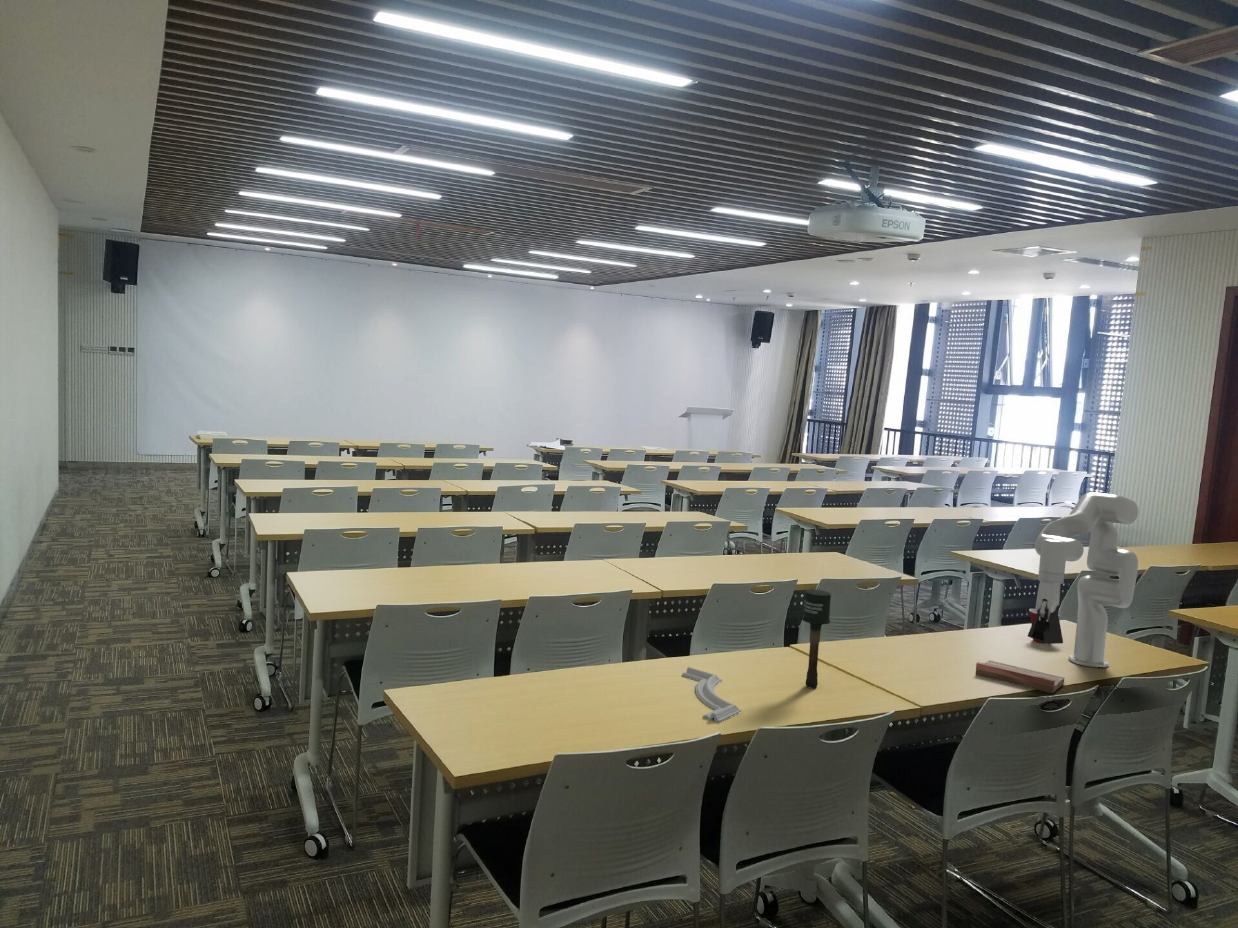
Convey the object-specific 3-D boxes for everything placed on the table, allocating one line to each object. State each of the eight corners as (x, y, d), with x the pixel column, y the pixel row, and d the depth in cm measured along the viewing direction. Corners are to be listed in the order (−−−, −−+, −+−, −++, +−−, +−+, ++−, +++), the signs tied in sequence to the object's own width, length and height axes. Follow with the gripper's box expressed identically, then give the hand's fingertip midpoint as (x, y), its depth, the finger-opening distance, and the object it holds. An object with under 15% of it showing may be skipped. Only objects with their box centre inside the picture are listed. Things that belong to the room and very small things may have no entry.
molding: (679, 674, 277) (680, 665, 277) (716, 674, 279) (717, 665, 278) (705, 725, 235) (705, 714, 235) (748, 725, 237) (749, 714, 236)
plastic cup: (1063, 645, 333) (1066, 615, 332) (1037, 645, 332) (1040, 614, 331) (1045, 637, 344) (1048, 608, 343) (1020, 637, 342) (1023, 607, 341)
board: (988, 665, 302) (989, 654, 301) (1063, 683, 286) (1065, 671, 286) (975, 674, 291) (976, 662, 291) (1052, 693, 275) (1053, 680, 275)
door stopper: (1063, 643, 280) (1066, 607, 279) (1048, 644, 278) (1051, 607, 278) (1042, 635, 289) (1045, 600, 288) (1027, 636, 287) (1030, 600, 286)
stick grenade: (792, 683, 272) (798, 589, 270) (815, 681, 275) (822, 588, 273) (807, 692, 264) (813, 596, 262) (830, 690, 267) (837, 595, 265)
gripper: (1045, 571, 291) (1040, 624, 292) (1031, 578, 278) (1026, 633, 279) (1070, 575, 286) (1065, 629, 288) (1056, 582, 273) (1051, 638, 274)
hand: (1045, 630), depth 283 cm, fingers closed on door stopper, 5 cm apart
